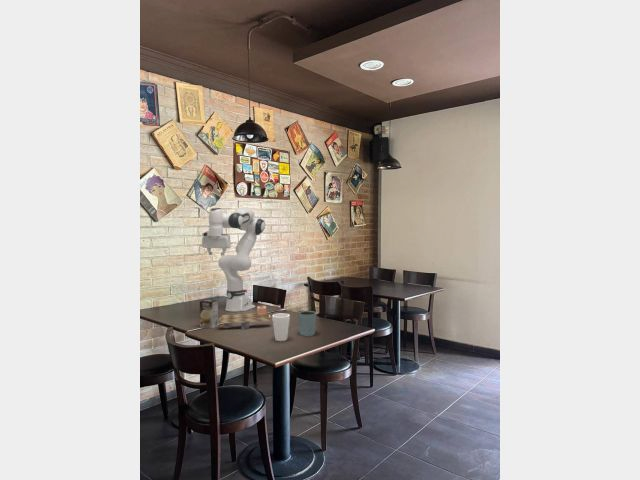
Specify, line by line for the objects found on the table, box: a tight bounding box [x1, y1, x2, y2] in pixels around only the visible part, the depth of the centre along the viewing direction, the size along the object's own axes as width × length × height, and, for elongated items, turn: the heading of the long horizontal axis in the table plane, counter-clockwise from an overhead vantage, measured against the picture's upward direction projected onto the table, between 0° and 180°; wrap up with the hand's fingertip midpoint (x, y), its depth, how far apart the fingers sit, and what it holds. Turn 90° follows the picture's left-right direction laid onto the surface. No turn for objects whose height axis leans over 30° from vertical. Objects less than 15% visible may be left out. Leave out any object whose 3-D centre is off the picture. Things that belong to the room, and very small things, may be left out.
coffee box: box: [199, 298, 219, 329], centre depth 238 cm, size 9×6×16 cm
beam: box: [218, 312, 272, 330], centre depth 235 cm, size 30×8×8 cm, turn 102°
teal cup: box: [298, 310, 317, 337], centre depth 222 cm, size 10×10×12 cm
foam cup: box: [271, 312, 291, 342], centre depth 212 cm, size 10×9×13 cm
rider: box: [256, 305, 267, 315], centre depth 237 cm, size 5×6×6 cm
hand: (216, 255), depth 251 cm, fingers open, 8 cm apart
